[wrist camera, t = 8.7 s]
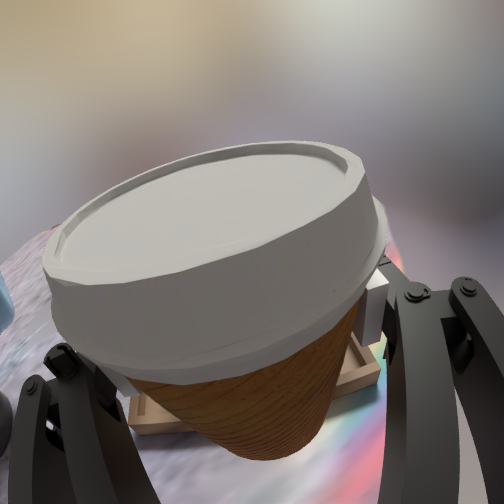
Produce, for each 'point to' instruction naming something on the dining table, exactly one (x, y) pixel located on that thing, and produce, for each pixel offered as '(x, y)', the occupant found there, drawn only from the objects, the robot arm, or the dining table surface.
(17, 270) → the dining table surface
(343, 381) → the serving tray
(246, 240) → the disposable coffee cup
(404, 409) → the robot arm
